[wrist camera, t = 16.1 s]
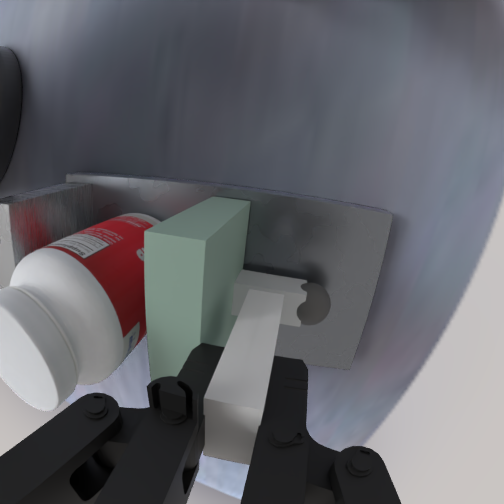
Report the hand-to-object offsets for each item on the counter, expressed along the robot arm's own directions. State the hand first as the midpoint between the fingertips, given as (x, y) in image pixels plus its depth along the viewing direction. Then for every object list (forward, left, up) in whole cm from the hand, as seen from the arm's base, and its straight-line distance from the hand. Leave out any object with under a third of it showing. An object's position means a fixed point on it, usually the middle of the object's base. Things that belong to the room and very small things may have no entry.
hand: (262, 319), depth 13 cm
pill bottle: (-8, 0, -4) cm, 9 cm away
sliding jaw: (0, 0, -4) cm, 4 cm away
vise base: (-4, 0, -6) cm, 7 cm away
